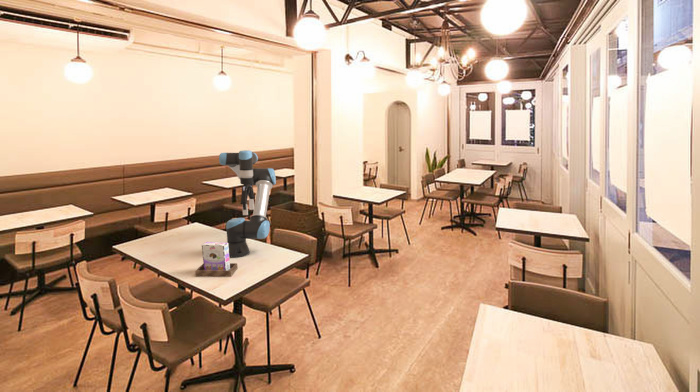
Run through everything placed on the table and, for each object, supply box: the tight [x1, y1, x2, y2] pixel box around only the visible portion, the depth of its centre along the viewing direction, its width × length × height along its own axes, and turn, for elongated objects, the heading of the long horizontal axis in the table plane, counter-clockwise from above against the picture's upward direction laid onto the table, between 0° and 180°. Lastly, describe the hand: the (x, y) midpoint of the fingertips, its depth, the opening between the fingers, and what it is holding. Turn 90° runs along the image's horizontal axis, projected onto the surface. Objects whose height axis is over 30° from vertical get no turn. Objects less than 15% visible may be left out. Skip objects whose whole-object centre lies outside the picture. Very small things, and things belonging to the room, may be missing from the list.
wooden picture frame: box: [194, 262, 238, 278], centre depth 227 cm, size 20×12×3 cm, turn 88°
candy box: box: [201, 241, 231, 270], centre depth 226 cm, size 14×6×16 cm, turn 78°
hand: (248, 212), depth 236 cm, fingers open, 13 cm apart
